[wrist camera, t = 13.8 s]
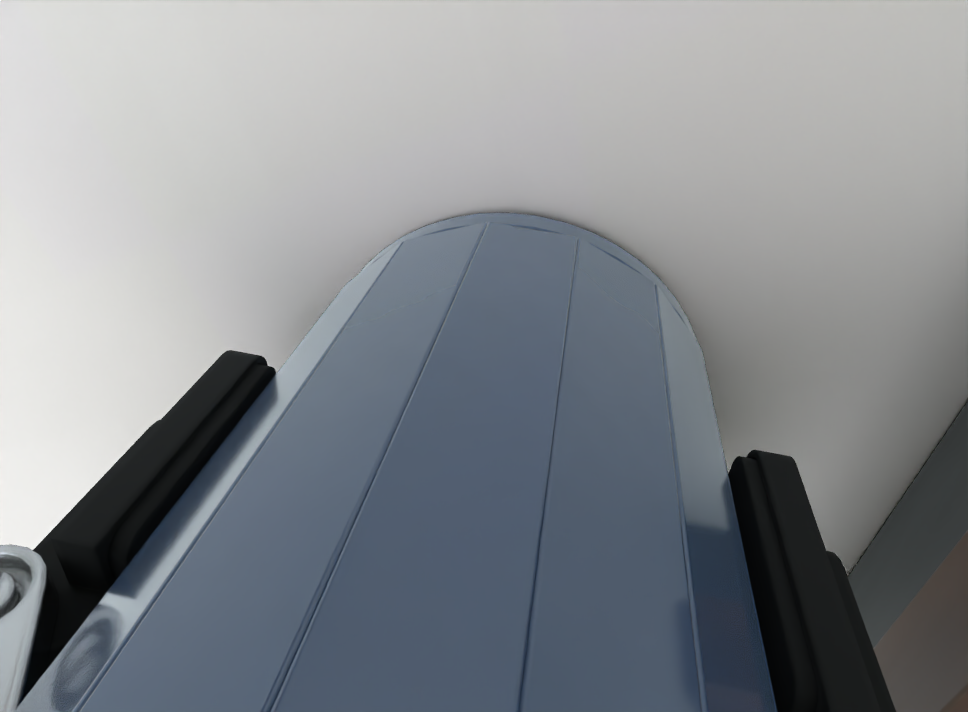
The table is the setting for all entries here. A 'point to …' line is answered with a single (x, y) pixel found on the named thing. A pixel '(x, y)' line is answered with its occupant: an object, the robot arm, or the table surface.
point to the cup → (451, 508)
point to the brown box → (923, 584)
